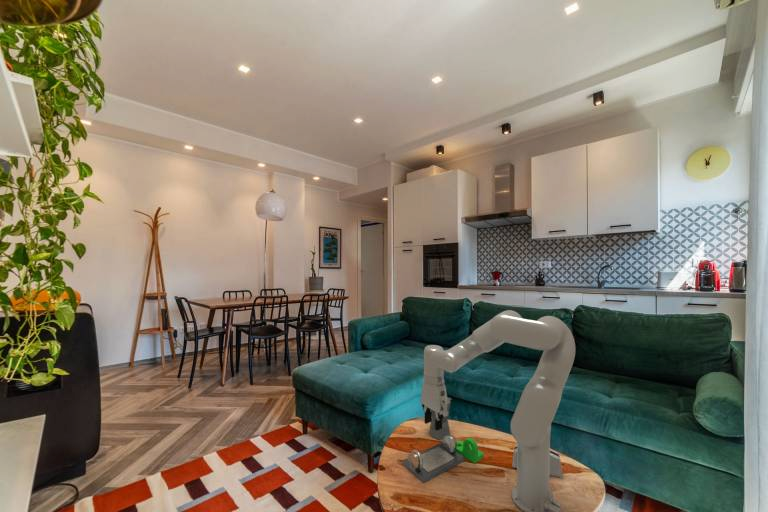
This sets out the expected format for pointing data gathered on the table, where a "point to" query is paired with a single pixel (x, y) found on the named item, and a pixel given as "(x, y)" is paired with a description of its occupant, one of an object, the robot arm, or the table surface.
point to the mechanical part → (469, 450)
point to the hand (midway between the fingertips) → (433, 425)
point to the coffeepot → (445, 426)
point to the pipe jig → (434, 459)
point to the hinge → (554, 463)
